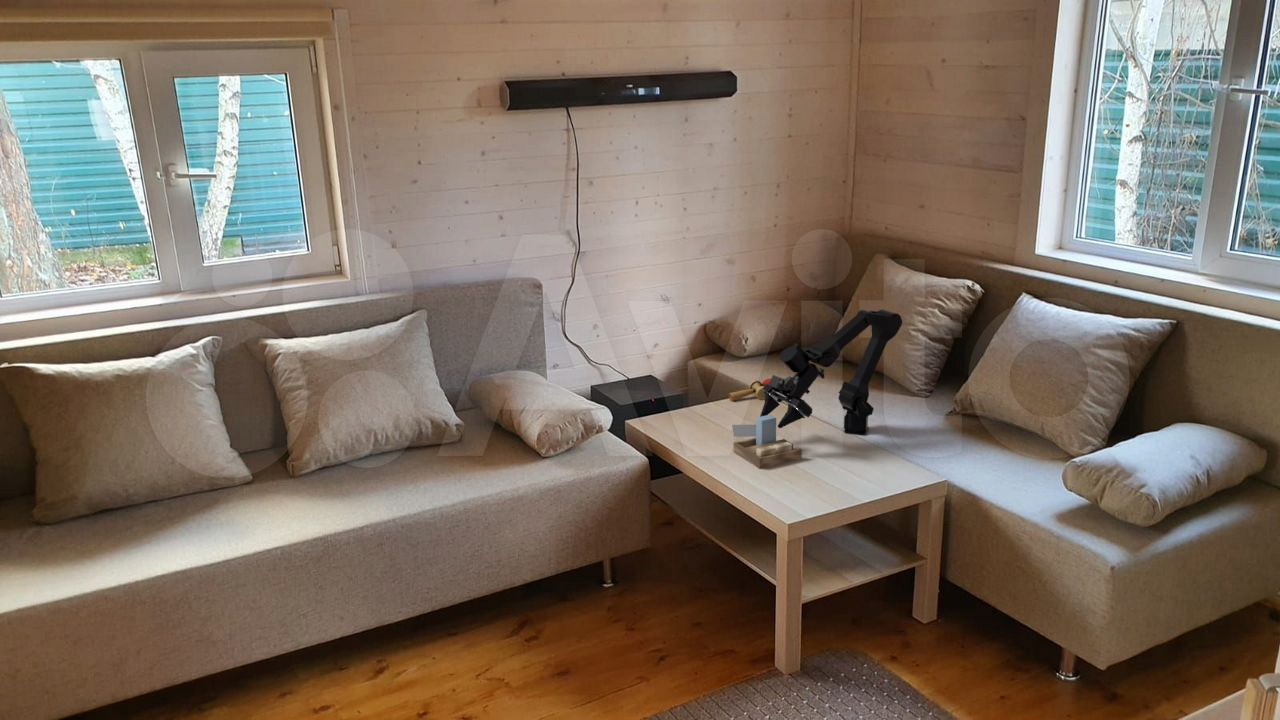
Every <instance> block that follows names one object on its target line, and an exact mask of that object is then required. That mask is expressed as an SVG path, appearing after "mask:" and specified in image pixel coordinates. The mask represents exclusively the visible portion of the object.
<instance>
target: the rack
mask: <svg viewBox="0 0 1280 720" xmlns="http://www.w3.org/2000/svg"><path fill="white" fill-rule="evenodd" d="M784 442H789V443H790V444H792V450H790V451H786V452H781V453H777V454H773V455H769V456H764V457H759V456H757V455H756V449H758V448H762V447H766V446H773V445H776V444H780V443H784ZM802 452H803V448H795V449H794V443H792V442H791V441H788V440H786V439H785V438H782V439H778V440H776V441H773V442H769V443H764V444H760V445H756V437H753V438H748V439H744V440H739V441H735V442H733V453H734V454H735V455H737V456H739V457H740V458H742V459H743V460H744V461H746V462H748V463H750V464H751V465H753V466H754V467H755V468H758V469H759V470H761V469H764V468H768V467H769V468H770V467H773V466H777V465H781V464H786V463H789V462H790V463H791V462H794V461H795V462H796V461H798V460H802V459H803V458H802V457H803V456H802V455H803V454H802Z"/></svg>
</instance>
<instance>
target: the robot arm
mask: <svg viewBox="0 0 1280 720" xmlns="http://www.w3.org/2000/svg"><path fill="white" fill-rule="evenodd" d="M902 325H903V320H902V316H901V315H900V314H899V313H896V312H893V311H890V310H887V309H884V308H883V309H882V308H881V309H880V310H876V311H875V310H866V309H860V310H859V311H857V313H856V315H855V316H853V318H852V319H850V320H849V321H848V322H847V323H845V325H844V326H842V327H841V328H840V329H838V331H836V332H835V333H833V335H831V336H830V337H828V338H826V339H822V340H820V341H817V342H816V343H814V344H812V346H811V347H810V348H807V349H804V350H803V348H802V346H801V345H800V344H798V343H795V342H794V344H792V346H791V345H790V346H788V347H787V348H785V349H783V350H782V351H781V353H780V357H779V359H780V361H781V363H783V364H784V365H785V366H786V367H787V368H788V369H789V370H790V371H791V372H792V373H795V374H794V375H793V376H790V375H789V376H787V377H786V378H783V377H780V376H777V375H774V374H772V376H771V378H770V379H771V381H770V383H769V384H766V385H765V386H764V387H763V390H764V394H765V399H764V404H763V406H762V409H761V412H760V416H759V417H762V416H766V415H770V414H771V413H772V412H773V411H774V410H775V409H777V408H778V407H779V406H780V405H781V404H780V403H781V402H785V403H787V410H786V412H785V413H784V415H783V417H782V418H781V420H780V421H779V422H778V425H777V428H779V429H782V428H784V427H785V426H788V425H790V424H792V423H794V422H796V421H798V420H801V419H805V418H810V416H811V415H812V414H813V407H811V406H810V404H808V403H807V401H805V400H804V399H803V396H804V395H805V394H807V395H808V394H810V392H811V391H810V387H811V386H812V385H813V383H815V381H816V380H817V378H821V379H825V369H823V368H830V367H831V366H833V365H834V363H835V362H836V361H837V360H838V358H839V357H840V355H841V353H842V350H843V349H844V348H846V346H848V345H849V344H850V343H851V342H852V341H853V340H854V339H856V337H858V336H860V334H862V333H863V331H865V330H866V329H867V328H869V327H870V326H871V327H870V328H871V337H870V340H869V342H868V344H867V346H866V349H865V351H864V353H863V355H862V357H861V360H860V362H859V365H858V367H857V368H856V371H855V373H854V376H853V377H852V378H851V379H850V380H849V381H846V380H844V382H843V383H842V386H841V389H840V390H839V391H838V394H839V396H838V400H839V403H840V405H841V408H842V409H843V410H845V411H846V413H845V415H844V417H843V429H844V431H843V432H844V433H845V434H852V435H853V434H854V435H863V436H866V434H867V432H868V430H869V416H872V415H873V412H874V407H873V406H872V405H871V404H870V403H869V402H868V400H869V396H870V389H869V385H870V382H871V380H872V378H873V375H874V373H875V371H876V369H877V366H878V363H879V362H880V360H881V357H882V354H883V352H884V351H885V348H886V346H887V344H888V342H889V341H891V340H892V339H893V338H894V337H895V336H896V335H897V334H898V333H899V331H900V329H901V327H902ZM811 362H812V363H811ZM817 365H818V366H820V367H818V366H817ZM821 367H823V368H821Z"/></svg>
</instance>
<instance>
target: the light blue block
mask: <svg viewBox="0 0 1280 720" xmlns="http://www.w3.org/2000/svg"><path fill="white" fill-rule="evenodd" d="M755 421H756V423H755V425H756V436H755V438H756V445H760V444H764V443H769V442H773V441H777V417H776V416H774V415H773V414H768V415H766V416H762V417H760V416H757V417H756V419H755Z"/></svg>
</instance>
